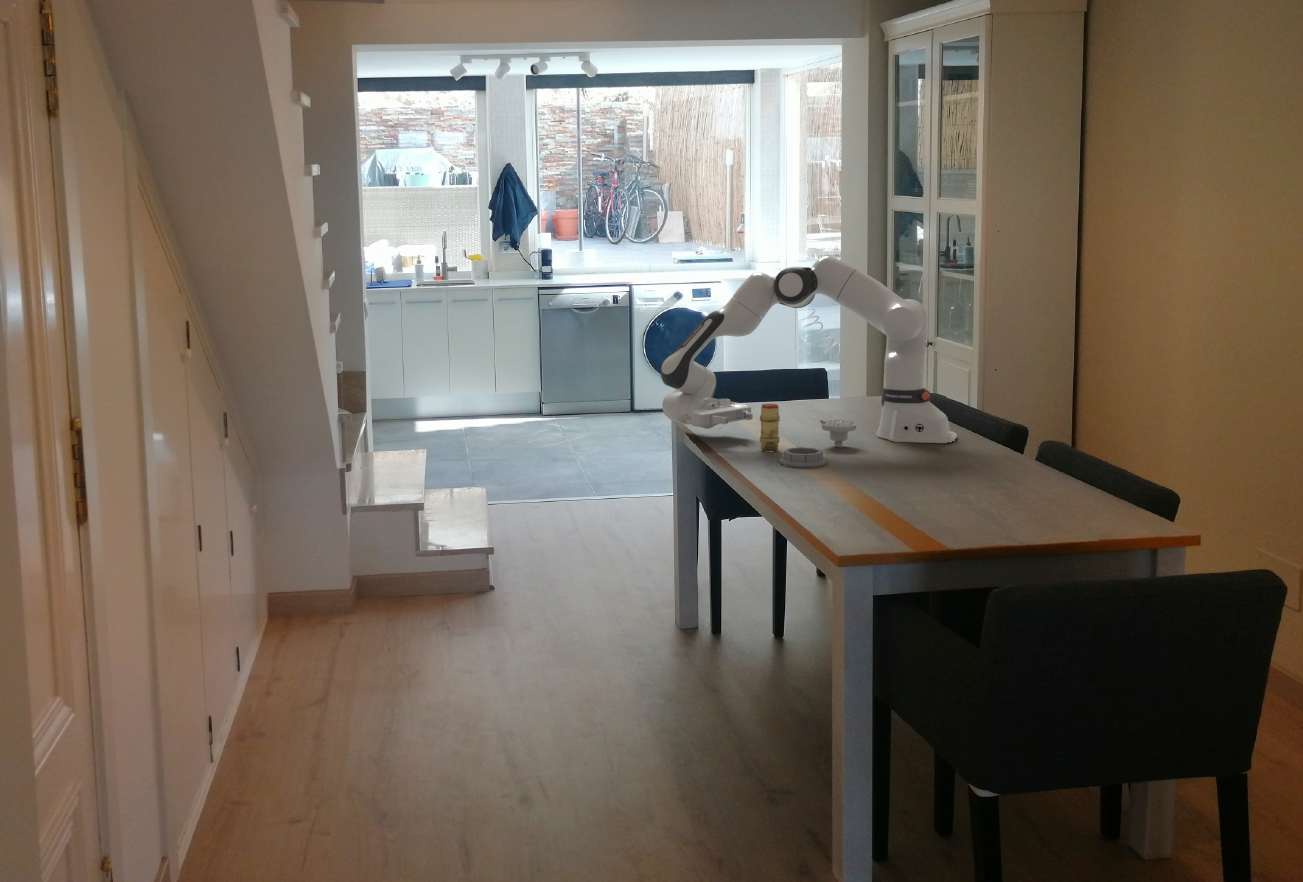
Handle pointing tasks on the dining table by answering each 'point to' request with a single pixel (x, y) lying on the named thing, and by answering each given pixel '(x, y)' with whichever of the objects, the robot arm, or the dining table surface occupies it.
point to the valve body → (769, 427)
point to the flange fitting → (803, 457)
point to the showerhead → (838, 430)
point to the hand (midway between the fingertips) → (738, 418)
